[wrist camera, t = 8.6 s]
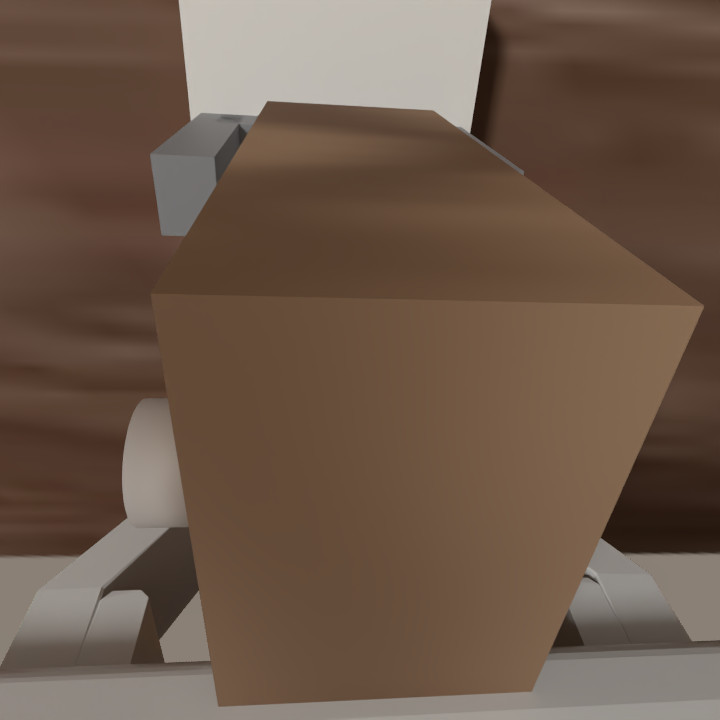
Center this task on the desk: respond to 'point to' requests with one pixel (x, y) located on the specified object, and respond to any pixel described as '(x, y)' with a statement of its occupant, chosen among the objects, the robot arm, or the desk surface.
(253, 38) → the white and grey rack
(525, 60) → the desk surface
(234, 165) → the door panel
